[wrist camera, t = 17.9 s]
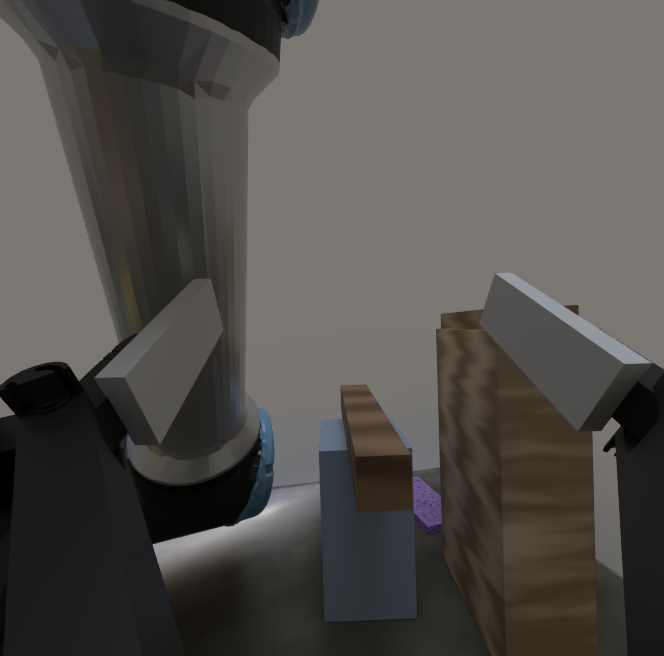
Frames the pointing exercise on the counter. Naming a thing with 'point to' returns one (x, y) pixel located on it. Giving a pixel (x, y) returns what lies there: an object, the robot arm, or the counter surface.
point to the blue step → (362, 543)
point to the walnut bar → (375, 454)
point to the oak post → (514, 500)
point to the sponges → (426, 507)
